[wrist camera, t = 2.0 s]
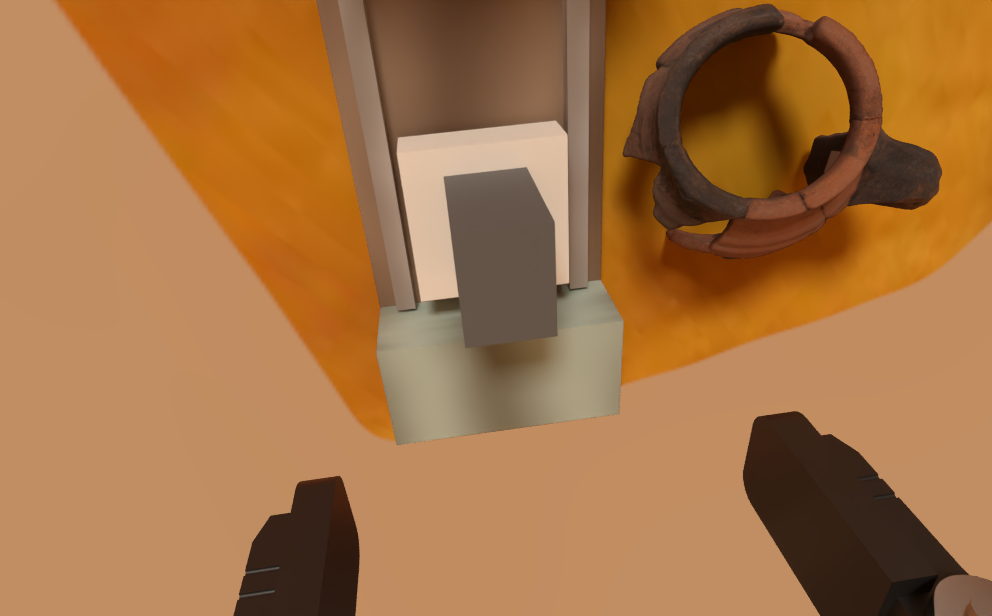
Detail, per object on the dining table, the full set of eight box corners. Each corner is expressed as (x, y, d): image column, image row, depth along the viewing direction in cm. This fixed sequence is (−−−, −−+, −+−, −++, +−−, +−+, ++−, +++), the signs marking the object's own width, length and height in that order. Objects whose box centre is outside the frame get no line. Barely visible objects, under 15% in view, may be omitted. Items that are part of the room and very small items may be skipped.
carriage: (556, 120, 23) (606, 182, 17) (559, 261, 26) (602, 355, 20) (398, 137, 22) (392, 207, 16) (420, 277, 25) (422, 379, 20)
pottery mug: (601, 249, 29) (619, 240, 21) (625, 49, 28) (654, -44, 20) (862, 277, 28) (991, 279, 19) (894, 68, 27) (1041, -20, 19)
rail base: (600, -479, 16) (734, -781, 10) (591, 349, 31) (641, 463, 24) (228, -462, 16) (88, -773, 9) (398, 375, 30) (394, 499, 24)
